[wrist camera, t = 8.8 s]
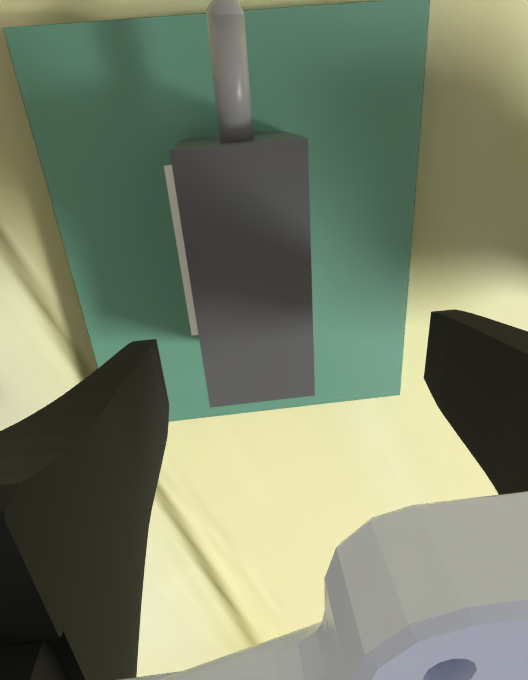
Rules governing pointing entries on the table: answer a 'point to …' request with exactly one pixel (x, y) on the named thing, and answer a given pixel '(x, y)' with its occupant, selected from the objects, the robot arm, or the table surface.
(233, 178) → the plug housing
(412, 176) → the header board
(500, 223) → the table surface
